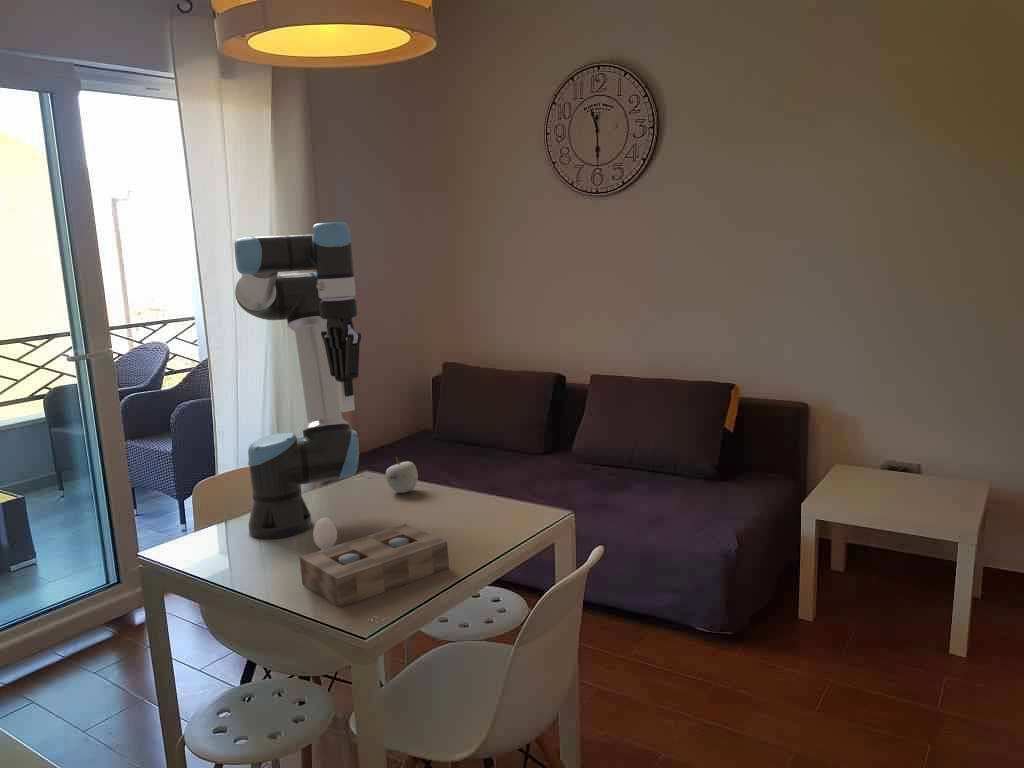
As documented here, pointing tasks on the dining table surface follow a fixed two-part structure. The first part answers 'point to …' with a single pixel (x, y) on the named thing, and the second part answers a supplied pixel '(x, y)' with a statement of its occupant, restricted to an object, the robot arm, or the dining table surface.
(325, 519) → the egg
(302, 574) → the walnut board
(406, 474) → the decorative object
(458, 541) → the dining table surface
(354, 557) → the dowel
